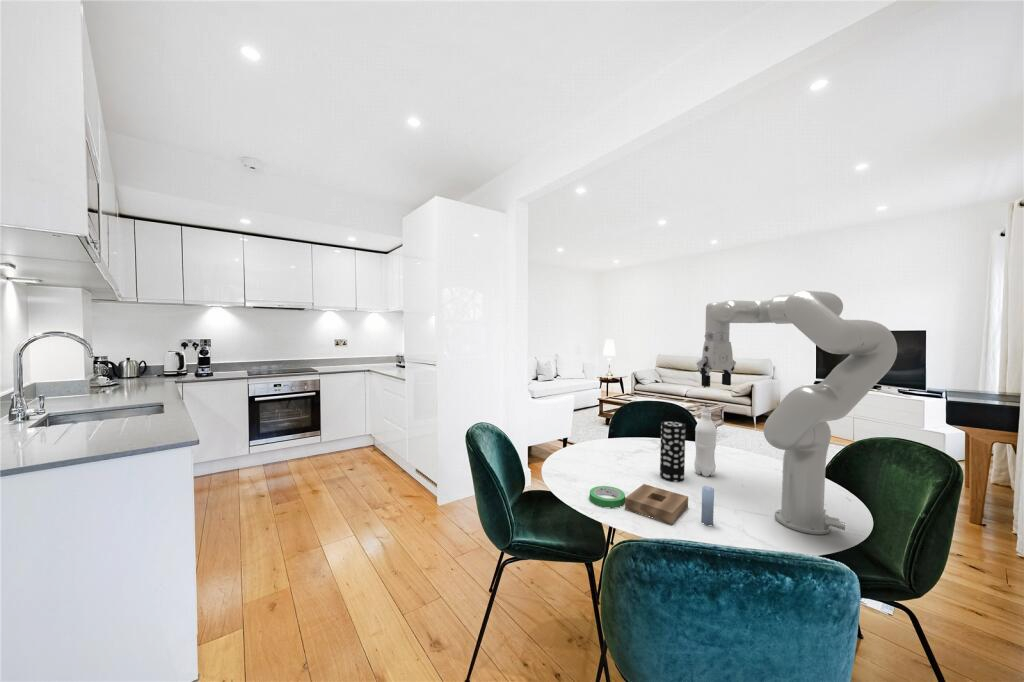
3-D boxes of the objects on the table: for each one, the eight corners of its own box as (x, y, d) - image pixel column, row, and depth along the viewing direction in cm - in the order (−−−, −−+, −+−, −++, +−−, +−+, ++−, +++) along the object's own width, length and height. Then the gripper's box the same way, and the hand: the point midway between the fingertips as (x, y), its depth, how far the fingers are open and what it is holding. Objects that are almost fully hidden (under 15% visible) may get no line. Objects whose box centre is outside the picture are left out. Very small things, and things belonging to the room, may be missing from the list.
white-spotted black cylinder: (679, 473, 144) (680, 421, 144) (687, 482, 136) (688, 427, 135) (657, 472, 145) (658, 420, 144) (663, 481, 137) (664, 426, 136)
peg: (714, 522, 108) (715, 488, 108) (711, 527, 106) (712, 491, 105) (703, 519, 110) (703, 485, 110) (700, 523, 108) (700, 488, 107)
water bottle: (719, 477, 141) (720, 410, 140) (699, 477, 141) (701, 410, 140) (709, 470, 148) (711, 406, 147) (690, 470, 148) (692, 406, 147)
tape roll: (584, 502, 121) (584, 494, 120) (597, 490, 130) (597, 482, 130) (618, 512, 114) (618, 503, 114) (629, 499, 124) (629, 490, 123)
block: (688, 507, 117) (688, 496, 117) (672, 525, 107) (672, 512, 106) (643, 494, 126) (643, 483, 126) (624, 509, 116) (625, 497, 116)
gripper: (707, 337, 128) (706, 388, 129) (744, 337, 134) (743, 386, 135) (689, 337, 135) (689, 385, 136) (725, 337, 141) (724, 383, 142)
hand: (716, 385), depth 135 cm, fingers open, 9 cm apart
